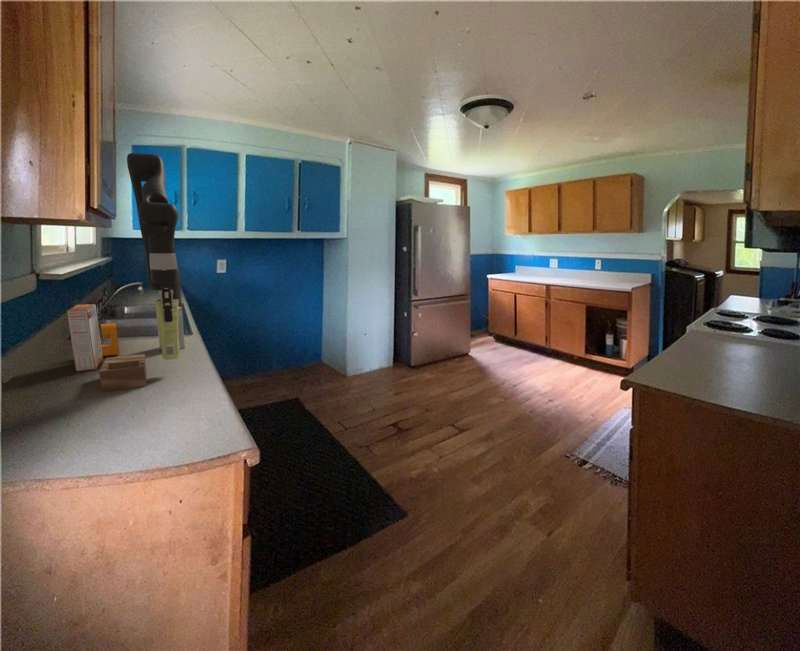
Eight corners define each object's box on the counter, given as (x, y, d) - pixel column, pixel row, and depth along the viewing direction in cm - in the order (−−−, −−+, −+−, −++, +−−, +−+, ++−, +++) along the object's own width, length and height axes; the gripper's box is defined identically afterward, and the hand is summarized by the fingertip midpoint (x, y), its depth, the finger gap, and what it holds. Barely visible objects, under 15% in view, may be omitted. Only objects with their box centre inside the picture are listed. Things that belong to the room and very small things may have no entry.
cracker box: (83, 361, 148) (75, 304, 144) (103, 359, 151) (96, 303, 147) (74, 372, 136) (65, 310, 132) (96, 370, 139) (88, 309, 135)
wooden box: (107, 376, 132) (105, 357, 131) (147, 371, 138) (145, 354, 137) (101, 391, 119) (99, 371, 118) (146, 386, 124) (144, 366, 123)
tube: (167, 355, 138) (162, 298, 134) (183, 355, 139) (178, 298, 135) (159, 360, 133) (154, 301, 129) (176, 360, 133) (171, 301, 129)
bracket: (96, 352, 160) (92, 322, 158) (118, 350, 164) (115, 321, 162) (96, 358, 152) (92, 327, 149) (119, 356, 156) (116, 325, 154)
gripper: (150, 266, 134) (155, 317, 137) (149, 269, 122) (155, 325, 125) (176, 266, 138) (180, 316, 141) (178, 269, 126) (182, 323, 129)
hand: (168, 320), depth 133 cm, fingers closed on tube, 4 cm apart
